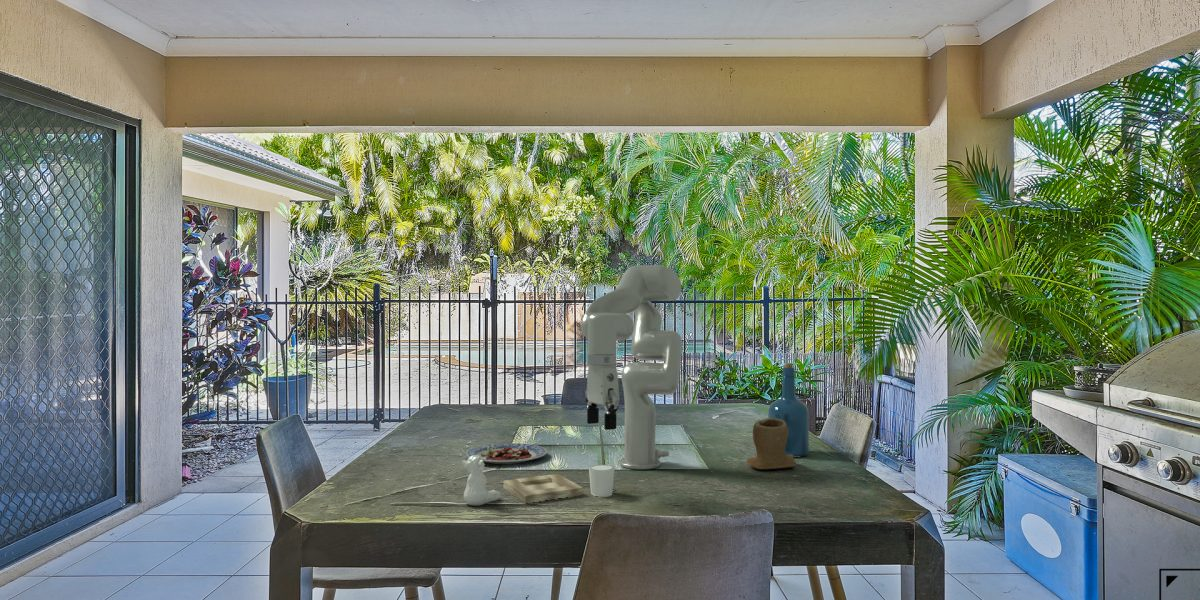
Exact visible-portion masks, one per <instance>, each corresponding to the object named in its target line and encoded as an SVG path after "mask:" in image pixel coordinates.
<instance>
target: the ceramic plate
mask: <svg viewBox="0 0 1200 600" xmlns="http://www.w3.org/2000/svg"><path fill="white" fill-rule="evenodd" d="M547 453H548V450H547V448H545V447H542V446H541V445H535V444H530V443H520V442H519V443H518V442H515V443H514V442H513V443H512V442H511V443H510V442H507V443H504V442H503V443H493V444H492V443H491V444H484V445H479V446H476V447H472V448H471V449H468V450H467V451H466V452H465V454H466V457H468V458H469V457H471V456H472V455H479V456H480V458H482V460H483V463H487V464H493V463H494V464H495V465H496V464H497V465H513V464H514V463H515V464H521V462H522V463H526V461H527V462H529V460H530V461H533V460H535V459H539V458H542V457H544V456H546V454H547ZM494 464H493V465H494Z"/></svg>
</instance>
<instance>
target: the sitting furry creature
mask: <svg viewBox="0 0 1200 600" xmlns="http://www.w3.org/2000/svg"><path fill="white" fill-rule="evenodd" d="M461 462H462V467H465V469H466V470H467V471H468V472H469V473H470V474H469V476H468V477H467V481H466V487H465V488H464V489H465V490H464V491H463V500H464V502H465V503H466V505H469V506H482V505H485V504H488V503H492V502H495V501H498V500H500V499H501V496H502V494H501V492H500V491H497V490H495V489H492V490H489V491H487V489H486V486H487V482H488V479H487V477H486V476H485V475H486V474H484V472H483V471H484V470H485V465H486V464H485V462H484V461H483V460H482V458H480V456H479V455H472V456H471V457H468V458H467V460H463V459H462V460H461Z"/></svg>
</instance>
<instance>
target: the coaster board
mask: <svg viewBox="0 0 1200 600" xmlns="http://www.w3.org/2000/svg"><path fill="white" fill-rule="evenodd" d="M502 483H503V489H504V490H505V491H506V492H508V493H509V494H511V495H512V494H513V496H514V497H515V496H516V497H515V498H517V499H518V500H519V499H520V501H521V502H522V501H523V502H524V503H523V502H522V503H523V504H524V505H527V504H526V503H528V504H534V503H533V502H535V503H539V501H541V502H546V501H545V500H548V501H552V500H551V499H555V500H559V499H558V498H562V499H567V498H566V497H568V498H575V497H581V496H580V495H582V496H584V488H583V486H581V485H579V484H577V483H576V482H573V481H572V480H570V479H568V478H566V477H564V476H562V475H560V474H559V473H553V474H552V473H551V474H545V475H537V476H536V475H535V476H529V477H522V478H514V479H512V478H511V479H506V480H505V479H504V480H503V482H502ZM574 496H575V497H574Z"/></svg>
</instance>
